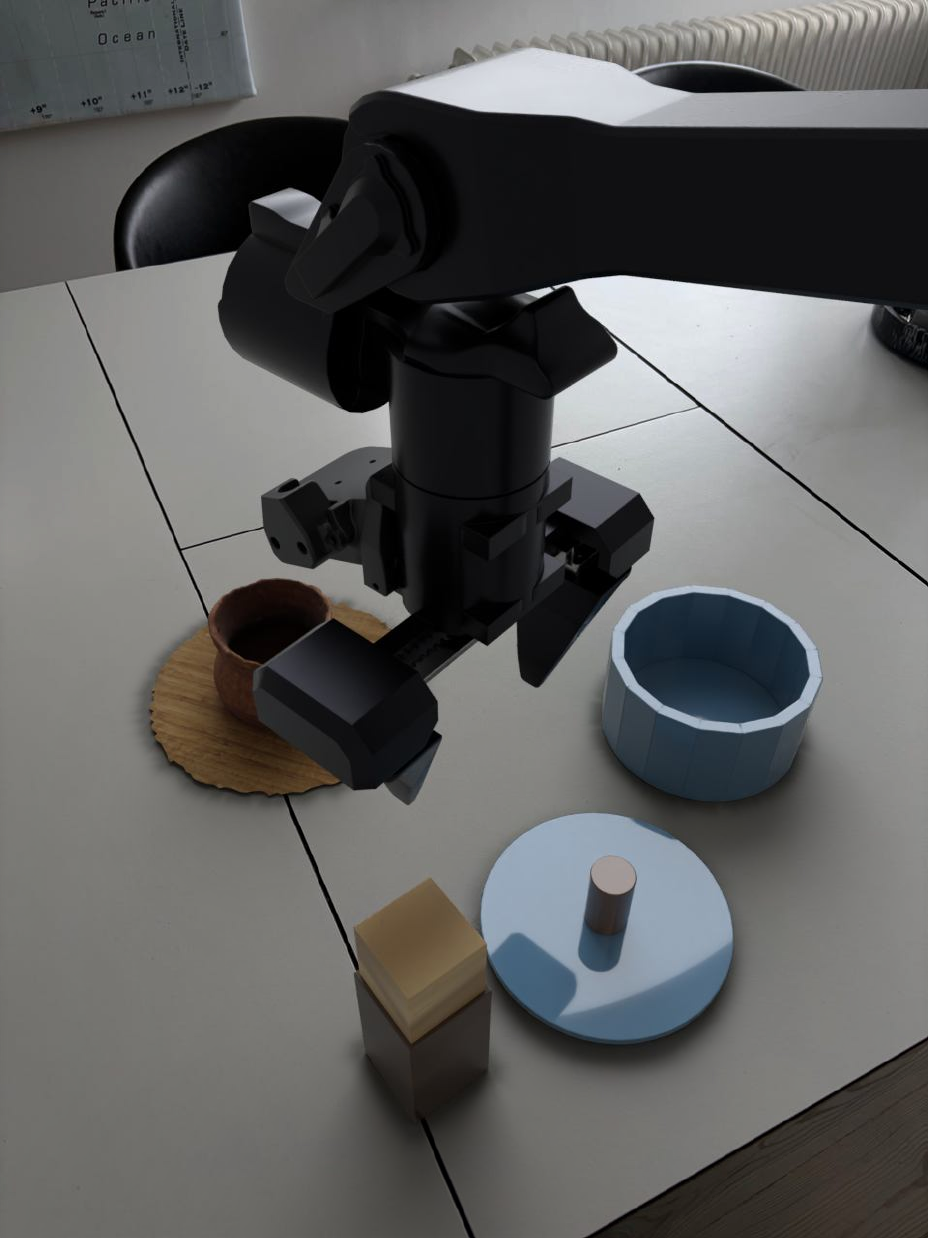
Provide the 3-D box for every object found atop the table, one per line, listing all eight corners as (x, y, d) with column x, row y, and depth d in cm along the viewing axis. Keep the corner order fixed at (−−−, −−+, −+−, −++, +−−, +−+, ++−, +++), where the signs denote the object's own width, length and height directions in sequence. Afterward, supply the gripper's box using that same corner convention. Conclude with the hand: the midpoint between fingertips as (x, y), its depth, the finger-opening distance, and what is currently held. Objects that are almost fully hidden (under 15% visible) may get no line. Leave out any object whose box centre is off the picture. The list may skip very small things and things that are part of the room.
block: (485, 990, 44) (487, 943, 41) (411, 1044, 42) (407, 1000, 39) (432, 924, 46) (430, 876, 44) (359, 973, 45) (352, 926, 42)
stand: (488, 1068, 49) (492, 990, 44) (415, 1125, 47) (410, 1051, 42) (436, 999, 52) (433, 918, 47) (364, 1051, 50) (352, 973, 45)
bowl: (837, 737, 65) (865, 667, 60) (703, 837, 59) (723, 768, 55) (693, 630, 72) (709, 560, 68) (562, 709, 67) (569, 639, 62)
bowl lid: (782, 948, 54) (805, 897, 51) (597, 1107, 48) (608, 1061, 45) (608, 786, 62) (617, 732, 59) (430, 905, 56) (428, 853, 52)
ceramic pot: (237, 847, 59) (218, 772, 54) (102, 678, 69) (75, 602, 64) (471, 700, 67) (472, 624, 62) (321, 568, 77) (312, 494, 72)
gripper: (469, 300, 45) (468, 566, 56) (119, 483, 35) (201, 768, 45) (682, 381, 40) (637, 659, 50) (345, 627, 29) (377, 911, 40)
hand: (470, 736), depth 47 cm, fingers open, 9 cm apart
